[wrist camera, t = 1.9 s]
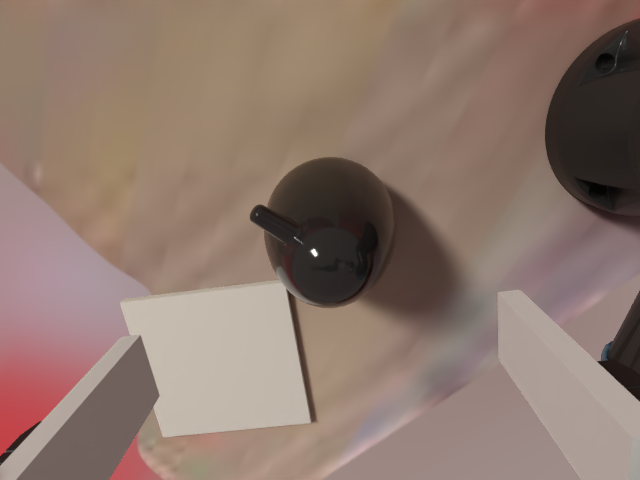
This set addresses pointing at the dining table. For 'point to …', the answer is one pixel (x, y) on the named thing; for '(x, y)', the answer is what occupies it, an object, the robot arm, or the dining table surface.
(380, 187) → the pump dispenser
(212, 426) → the ceramic tile
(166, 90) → the dining table surface
